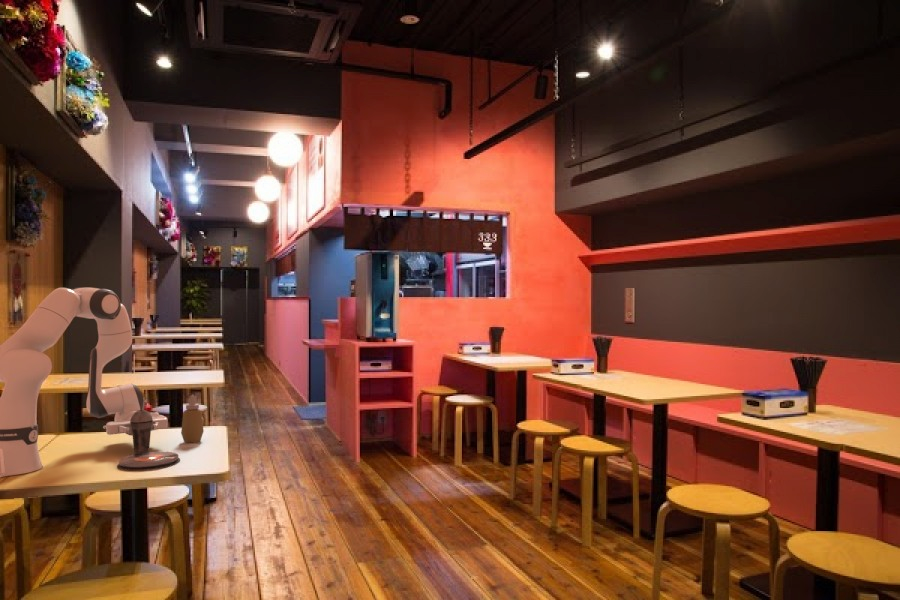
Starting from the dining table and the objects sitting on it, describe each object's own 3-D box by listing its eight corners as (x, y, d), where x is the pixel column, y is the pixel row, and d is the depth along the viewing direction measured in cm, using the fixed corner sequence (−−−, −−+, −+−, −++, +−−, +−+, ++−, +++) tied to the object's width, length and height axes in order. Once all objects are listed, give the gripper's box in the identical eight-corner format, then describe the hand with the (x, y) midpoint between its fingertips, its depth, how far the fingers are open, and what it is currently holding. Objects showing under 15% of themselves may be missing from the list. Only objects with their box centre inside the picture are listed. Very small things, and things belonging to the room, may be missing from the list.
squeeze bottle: (176, 443, 241) (176, 396, 241) (190, 438, 249) (190, 393, 249) (194, 444, 239) (194, 397, 239) (208, 440, 246) (208, 394, 247)
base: (104, 470, 202) (104, 469, 202) (137, 456, 221) (137, 455, 221) (162, 471, 201) (162, 470, 201) (190, 456, 220) (190, 455, 220)
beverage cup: (125, 454, 223) (125, 398, 223) (144, 450, 229) (144, 395, 229) (139, 457, 219) (139, 399, 219) (157, 452, 226) (157, 396, 226)
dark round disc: (106, 468, 202) (107, 464, 202) (138, 454, 220) (138, 450, 220) (161, 468, 201) (161, 464, 201) (188, 455, 219) (188, 451, 219)
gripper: (102, 417, 229) (108, 423, 218) (162, 411, 241) (171, 416, 230) (102, 435, 228) (108, 441, 218) (162, 428, 241) (171, 434, 230)
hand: (141, 428), depth 224 cm, fingers open, 8 cm apart
